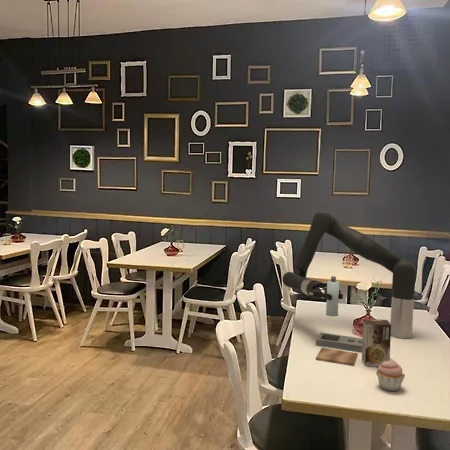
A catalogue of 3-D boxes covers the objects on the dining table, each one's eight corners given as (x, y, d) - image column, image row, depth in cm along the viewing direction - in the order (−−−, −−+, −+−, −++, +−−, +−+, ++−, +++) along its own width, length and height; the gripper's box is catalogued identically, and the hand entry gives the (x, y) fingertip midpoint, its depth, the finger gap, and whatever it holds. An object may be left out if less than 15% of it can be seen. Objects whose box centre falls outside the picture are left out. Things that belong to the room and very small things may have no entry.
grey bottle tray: (371, 345, 198) (371, 338, 197) (368, 353, 188) (369, 345, 188) (320, 338, 205) (320, 331, 205) (315, 345, 196) (316, 338, 196)
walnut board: (357, 355, 186) (357, 353, 186) (353, 365, 175) (353, 363, 175) (321, 349, 191) (321, 347, 191) (315, 359, 180) (315, 357, 180)
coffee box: (385, 361, 181) (387, 319, 179) (389, 367, 174) (392, 324, 173) (360, 359, 182) (363, 318, 180) (364, 366, 175) (366, 323, 174)
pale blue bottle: (338, 313, 199) (340, 276, 197) (336, 316, 194) (338, 278, 193) (327, 312, 201) (328, 275, 199) (325, 315, 196) (326, 277, 195)
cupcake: (380, 379, 164) (382, 350, 163) (408, 387, 158) (410, 357, 157) (370, 387, 157) (371, 358, 156) (398, 396, 151) (400, 366, 150)
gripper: (299, 281, 207) (322, 289, 191) (326, 278, 212) (351, 287, 197) (298, 298, 207) (321, 307, 192) (326, 295, 213) (350, 304, 198)
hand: (336, 297), depth 194 cm, fingers closed on pale blue bottle, 4 cm apart
